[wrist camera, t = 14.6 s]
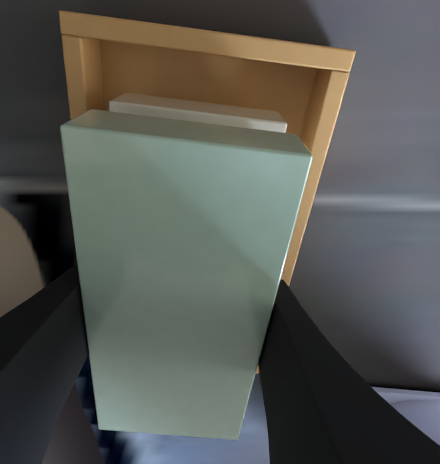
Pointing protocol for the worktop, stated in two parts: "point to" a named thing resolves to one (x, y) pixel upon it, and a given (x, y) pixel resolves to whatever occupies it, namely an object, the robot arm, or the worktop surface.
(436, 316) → the worktop surface
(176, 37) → the tray
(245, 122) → the off-white rectangular slab
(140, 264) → the sage green thick block
